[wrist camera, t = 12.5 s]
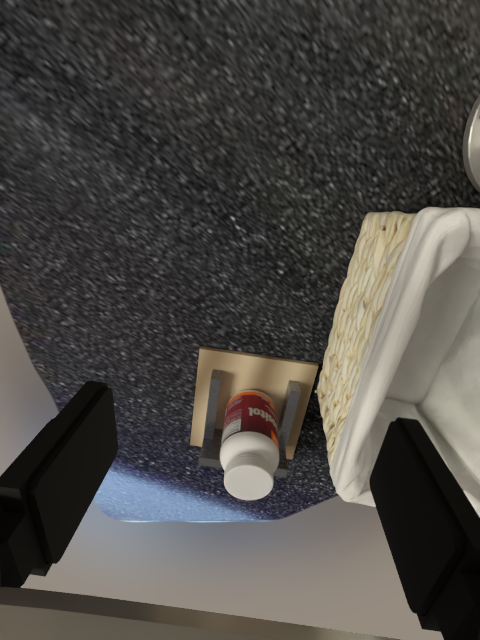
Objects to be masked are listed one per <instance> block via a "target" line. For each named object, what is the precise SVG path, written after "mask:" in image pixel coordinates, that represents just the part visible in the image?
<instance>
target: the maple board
mask: <svg viewBox="0 0 480 640" xmlns="http://www.w3.org/2000/svg"><path fill="white" fill-rule="evenodd" d="M213 369H216V370H223V373H222V380H221V387H220V395H219V402H218V409H217V416H216V424H215V428H216V429H223V428H224V421H225V414H226V408H227V404H228V402H229V400H230V399H231V398H232V396H234V395H235V394H236V393H238V392H240V391H243V390H257V391H260V392H263V393H265V394H266V395H268V396H269V397H270V398H271V400H272V401H273V403H274V405H275V409H276V420H277V427H278V423H279V419H280V415H281V411H282V407H283V403H284V398H285V394H286V390H287V386H288V382H289V380H292V381H299V385H300V390H301V393H300V397H299V401H298V405H297V408H296V412H295V416H294V420H293V424H292V427H291V431H290V435H289V439H288V442H287V446H286V459H293V455H294V452H295V448H296V445H297V441H298V437H299V434H300V430H301V427H302V423H303V420H304V416H305V413H306V409H307V405H308V402H309V398H310V395H311V391H312V388H313V384H314V381H315V377H316V373H317V370H318V363H312V362H305V361H298V360H291V359H284V358H278V357H271V356H264V355H257V354H250V353H243V352H236V351H230V350H223V349H216V348H209V347H202V346H201V347H200V352H199V362H198V372H197V382H196V392H195V402H194V412H193V422H192V432H191V442H190V445H194V446H201V447H202V443H203V438H204V430H205V421H206V413H207V405H208V397H209V388H210V380H211V375H212V371H213Z"/></svg>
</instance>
